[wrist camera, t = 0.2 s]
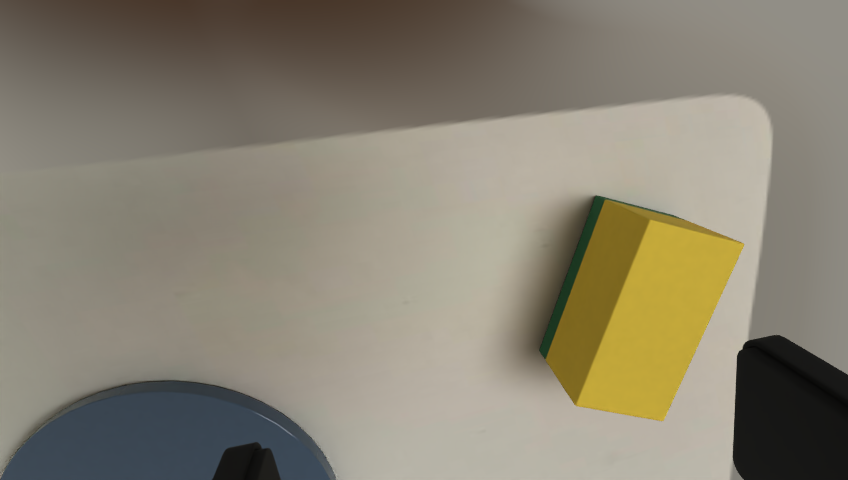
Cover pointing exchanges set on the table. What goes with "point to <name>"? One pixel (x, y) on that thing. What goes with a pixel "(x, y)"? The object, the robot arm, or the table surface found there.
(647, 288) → the sponge
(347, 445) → the table surface
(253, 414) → the plate
